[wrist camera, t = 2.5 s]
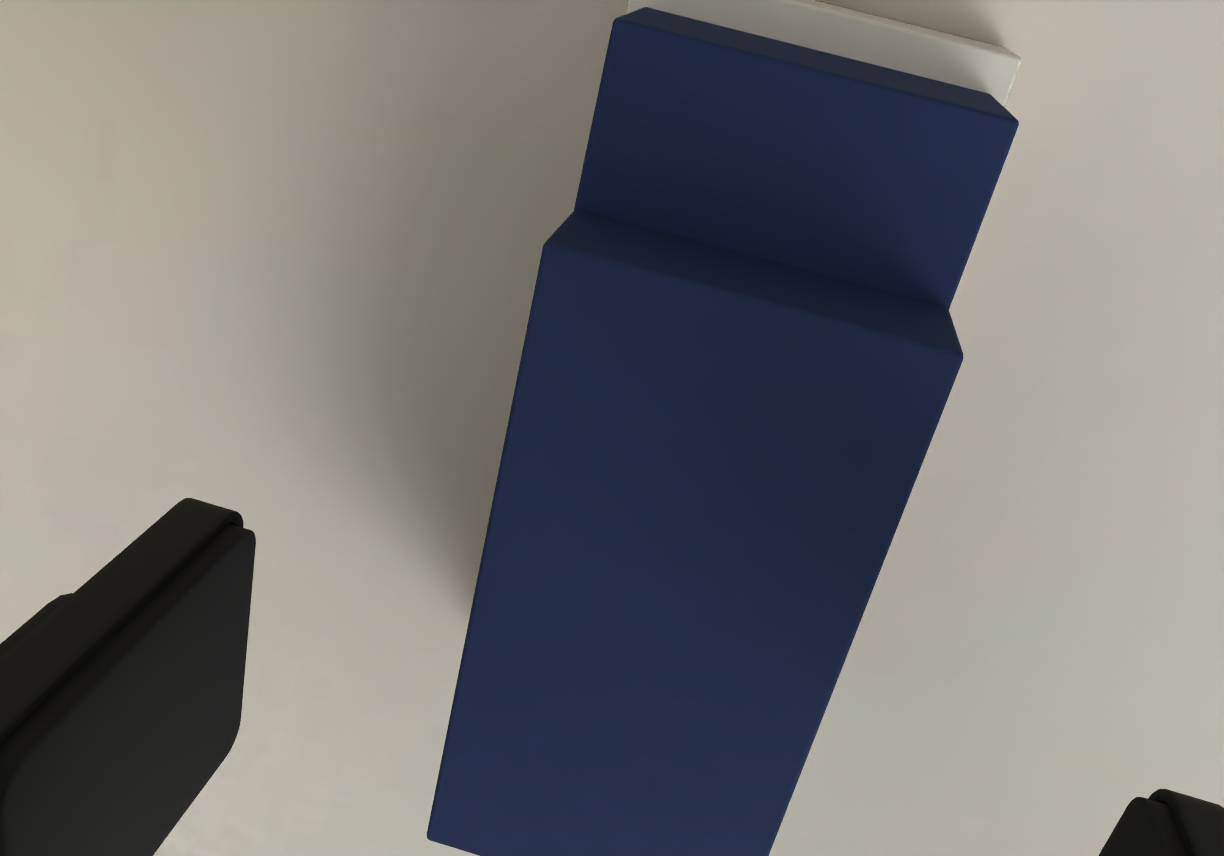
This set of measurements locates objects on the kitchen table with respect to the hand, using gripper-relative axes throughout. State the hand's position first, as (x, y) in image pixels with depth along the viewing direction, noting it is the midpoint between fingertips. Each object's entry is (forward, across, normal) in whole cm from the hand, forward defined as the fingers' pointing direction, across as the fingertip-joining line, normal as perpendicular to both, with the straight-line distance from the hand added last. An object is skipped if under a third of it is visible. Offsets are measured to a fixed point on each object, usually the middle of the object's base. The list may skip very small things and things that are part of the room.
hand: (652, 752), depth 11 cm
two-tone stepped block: (+7, 0, -1) cm, 7 cm away
